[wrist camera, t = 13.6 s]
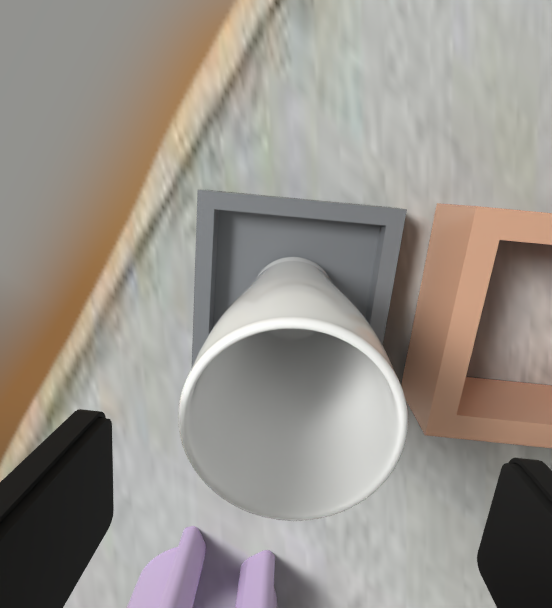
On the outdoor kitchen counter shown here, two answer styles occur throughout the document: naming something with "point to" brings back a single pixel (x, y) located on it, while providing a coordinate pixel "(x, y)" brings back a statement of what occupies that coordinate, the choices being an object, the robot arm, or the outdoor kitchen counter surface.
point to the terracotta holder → (470, 333)
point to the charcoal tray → (292, 250)
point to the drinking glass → (293, 400)
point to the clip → (186, 573)
